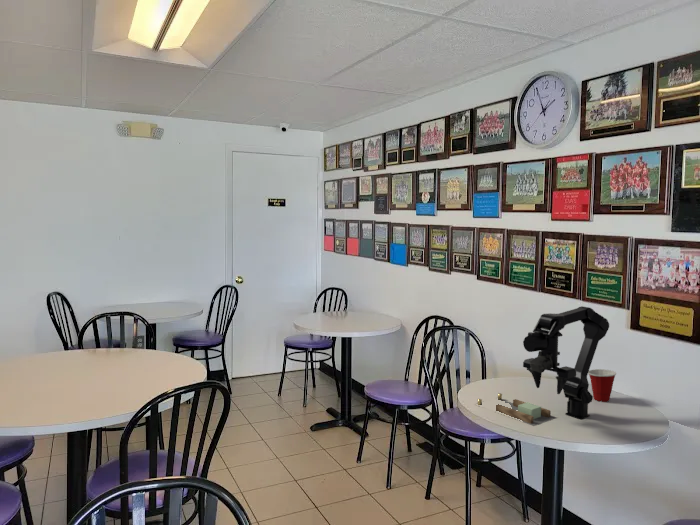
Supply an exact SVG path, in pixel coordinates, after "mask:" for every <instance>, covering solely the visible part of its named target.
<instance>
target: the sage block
mask: <svg viewBox="0 0 700 525" xmlns="http://www.w3.org/2000/svg"><path fill="white" fill-rule="evenodd" d="M541 408H542V406H540V405H538V404H534V403H532V402H529V401H528V402H526V403H524V404H520V405H518V411H519V412H522V413H525V414H528V415H531V416H533V419H536V418H539V417H541Z"/></svg>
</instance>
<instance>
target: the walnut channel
mask: <svg viewBox="0 0 700 525" xmlns="http://www.w3.org/2000/svg"><path fill="white" fill-rule="evenodd" d="M512 403H513V406H515V407H518V405H520V404H524V403H527V402H525V401H522V400H519V399H513V400H512ZM496 411H499V412H501V413H504V414H506V415H509V416H511V417H514V418H517V419H520V420H522V421H525V422H528V423H530V424H531V423H533V416H531V415H528V414H525V413H522V412H519V411H516V410H514V409H511V408H508V407H505V406H502V405H499V404H498V405H496ZM551 412H552V411H551V410H550V409H547V408H544V407H541V415H542V416H545V417H550V416H551Z"/></svg>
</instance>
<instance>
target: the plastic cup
mask: <svg viewBox="0 0 700 525" xmlns="http://www.w3.org/2000/svg"><path fill="white" fill-rule="evenodd" d="M588 375H589V379H590V384H591V391H592V396H593V400H594V399H595V401H596V400H597V402H600V401H602V402H601V403H608V402H609V401H610V399H611V394H612V391H613V390H612V389H613V384H614V381H615V377H616V375H617V372H616V371H614V370H611V369H610V370H609V369H601V368H599V369H597V368H596V369H595V368H594V369H589V372H588ZM607 401H608V402H607Z"/></svg>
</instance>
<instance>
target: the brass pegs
mask: <svg viewBox="0 0 700 525" xmlns="http://www.w3.org/2000/svg"><path fill="white" fill-rule="evenodd" d="M497 398H498V400H503V393H499V392H498V393H497ZM482 402H483V399H481V398H477V404H478V405H482Z"/></svg>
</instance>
